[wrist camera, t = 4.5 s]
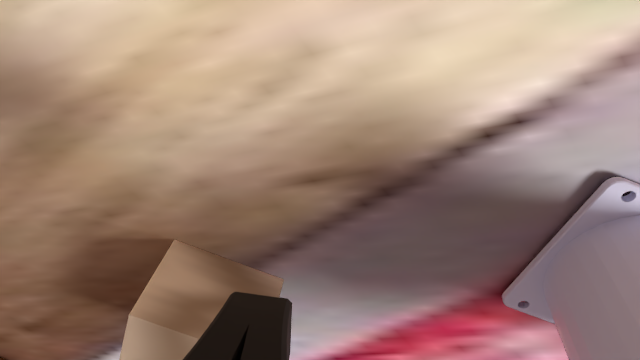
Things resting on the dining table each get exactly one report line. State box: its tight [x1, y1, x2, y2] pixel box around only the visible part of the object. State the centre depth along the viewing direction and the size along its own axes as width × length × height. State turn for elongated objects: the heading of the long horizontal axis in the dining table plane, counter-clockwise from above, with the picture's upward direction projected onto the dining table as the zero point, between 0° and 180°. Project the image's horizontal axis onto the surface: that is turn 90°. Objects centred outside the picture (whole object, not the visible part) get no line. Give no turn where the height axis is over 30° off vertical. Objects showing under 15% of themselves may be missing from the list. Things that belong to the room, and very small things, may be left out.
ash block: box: [119, 239, 284, 360], centre depth 23 cm, size 6×6×5 cm
